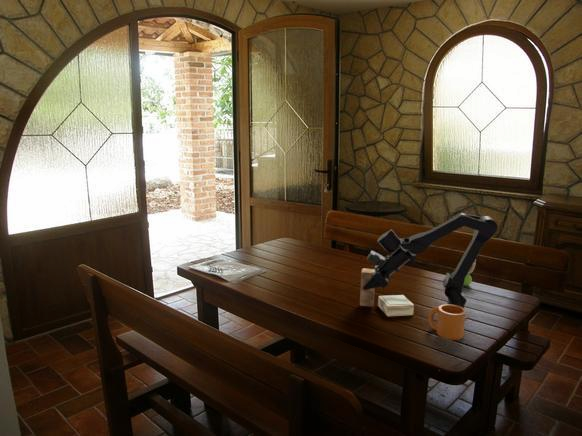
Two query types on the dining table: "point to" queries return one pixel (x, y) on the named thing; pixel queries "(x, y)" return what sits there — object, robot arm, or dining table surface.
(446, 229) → the robot arm
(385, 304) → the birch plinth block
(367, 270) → the tan wooden block
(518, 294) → the dining table surface
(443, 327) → the mug
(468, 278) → the snail figurine
